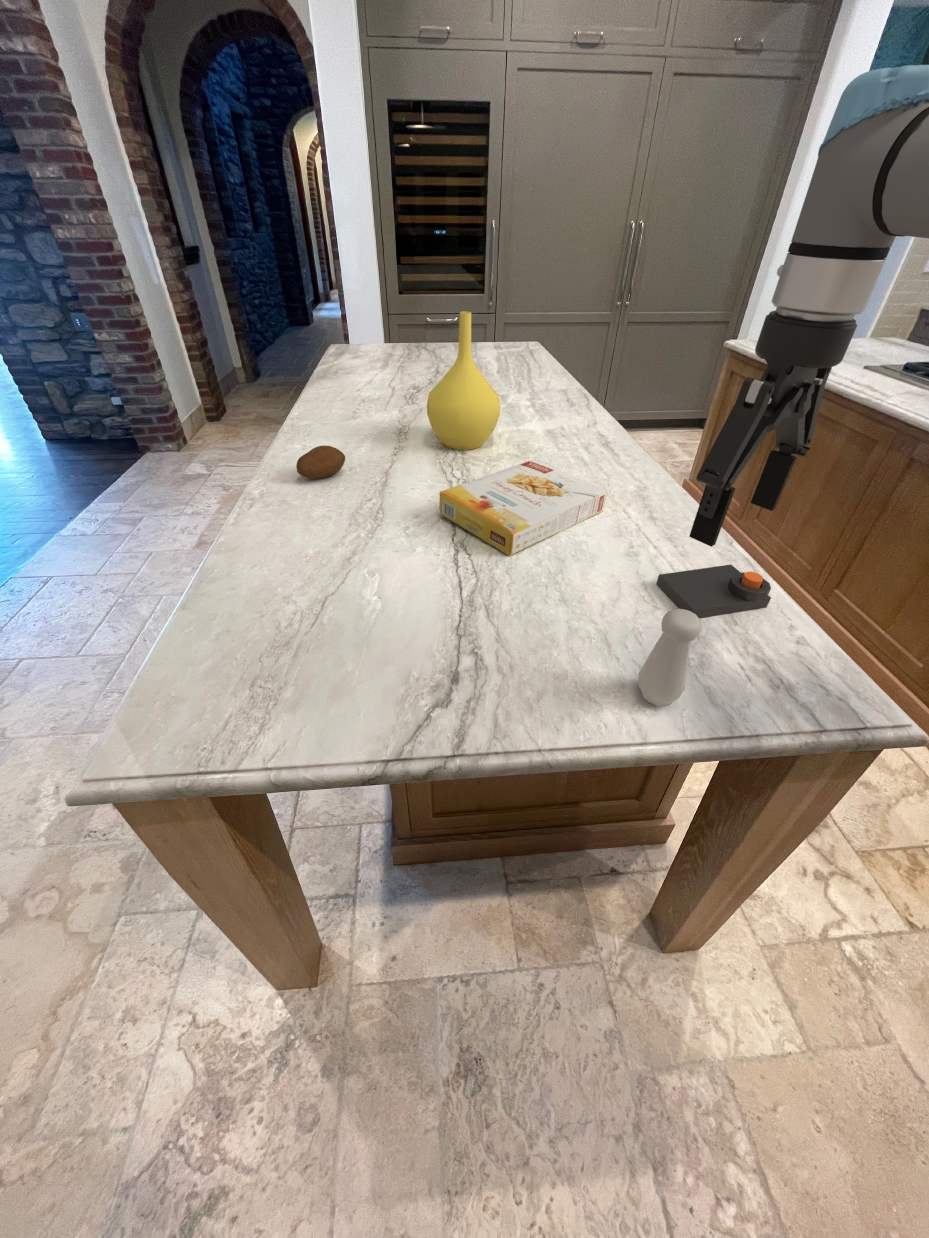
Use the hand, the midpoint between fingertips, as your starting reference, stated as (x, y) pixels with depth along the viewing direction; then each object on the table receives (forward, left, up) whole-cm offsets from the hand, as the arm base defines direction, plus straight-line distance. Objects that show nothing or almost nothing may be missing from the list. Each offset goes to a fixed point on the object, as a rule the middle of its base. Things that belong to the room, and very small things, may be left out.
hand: (733, 522), depth 62 cm
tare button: (+2, -20, -18) cm, 28 cm away
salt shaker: (-2, +9, -22) cm, 23 cm away
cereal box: (+45, -12, -22) cm, 52 cm away
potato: (+85, +12, -22) cm, 89 cm away
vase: (+83, -27, -22) cm, 90 cm away
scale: (+6, -17, -22) cm, 28 cm away
